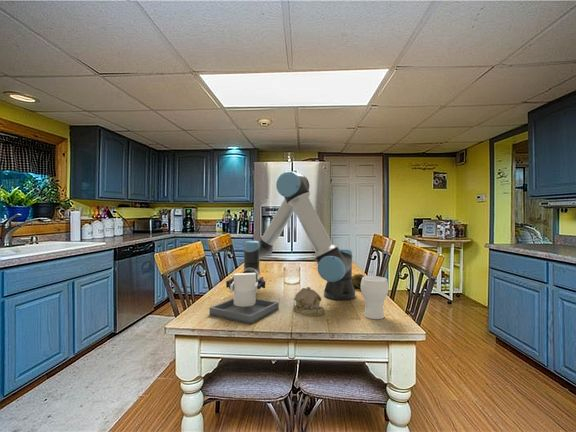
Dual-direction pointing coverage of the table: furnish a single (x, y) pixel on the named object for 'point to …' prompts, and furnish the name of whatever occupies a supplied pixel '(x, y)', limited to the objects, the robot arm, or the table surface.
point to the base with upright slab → (244, 289)
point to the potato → (357, 280)
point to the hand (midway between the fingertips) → (243, 289)
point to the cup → (374, 295)
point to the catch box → (244, 310)
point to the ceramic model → (308, 303)
